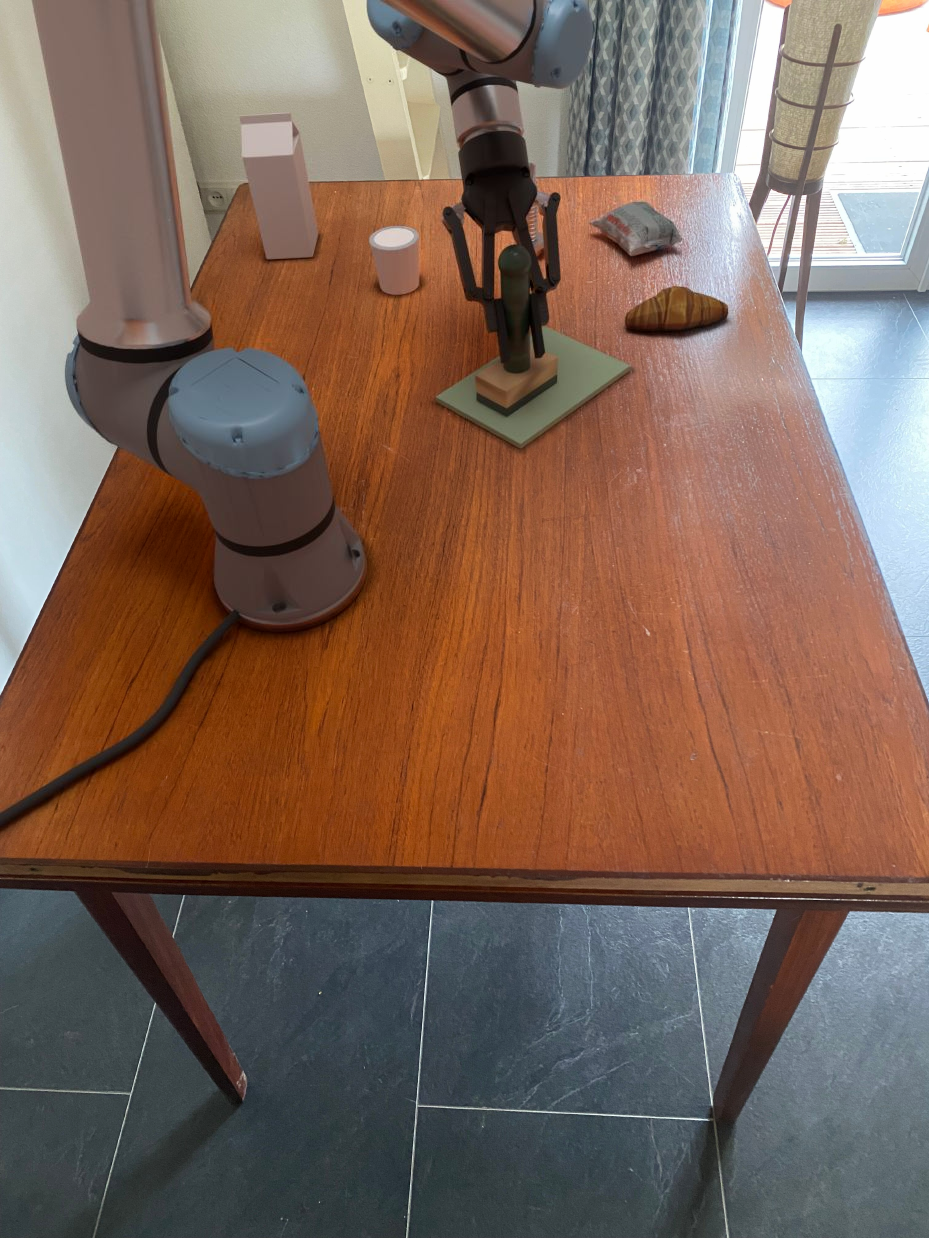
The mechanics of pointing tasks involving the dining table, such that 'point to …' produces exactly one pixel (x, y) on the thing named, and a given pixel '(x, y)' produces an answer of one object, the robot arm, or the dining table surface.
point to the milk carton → (279, 185)
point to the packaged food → (638, 228)
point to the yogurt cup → (396, 258)
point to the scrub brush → (516, 343)
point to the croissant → (676, 311)
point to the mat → (576, 384)
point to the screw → (534, 219)
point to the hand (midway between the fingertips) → (522, 357)
